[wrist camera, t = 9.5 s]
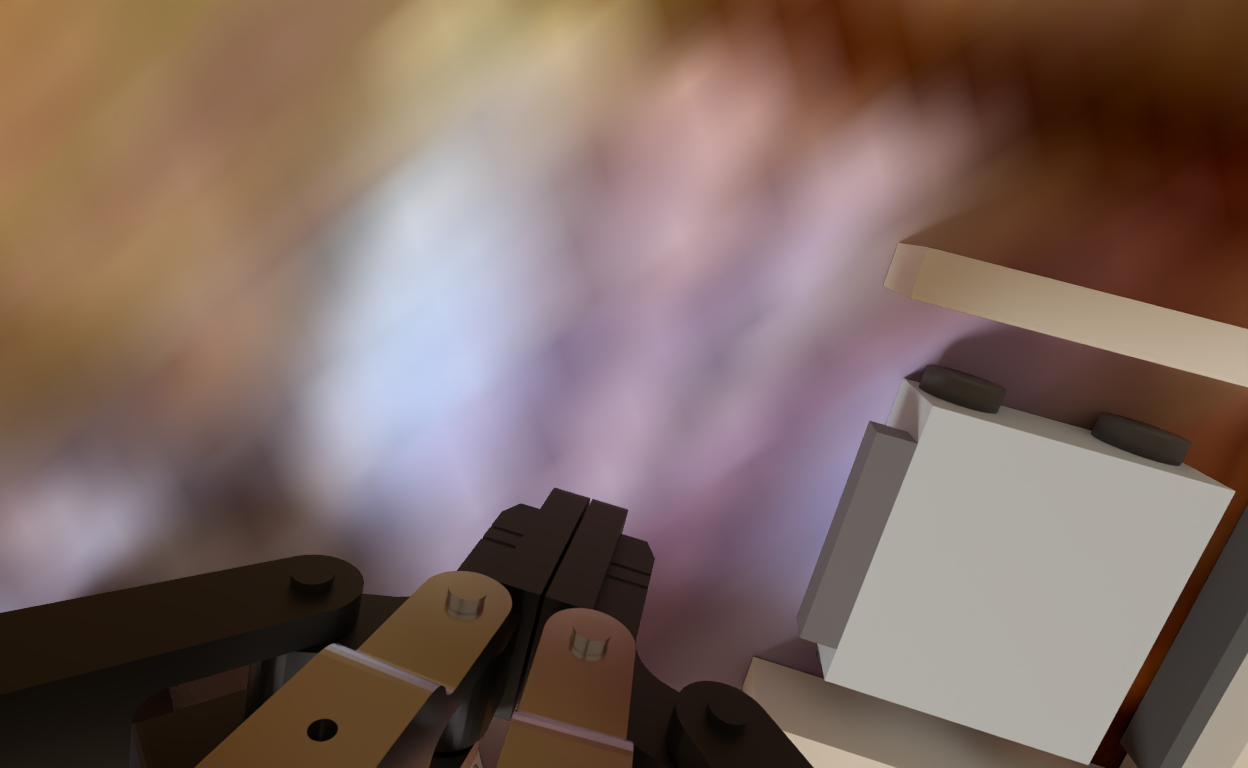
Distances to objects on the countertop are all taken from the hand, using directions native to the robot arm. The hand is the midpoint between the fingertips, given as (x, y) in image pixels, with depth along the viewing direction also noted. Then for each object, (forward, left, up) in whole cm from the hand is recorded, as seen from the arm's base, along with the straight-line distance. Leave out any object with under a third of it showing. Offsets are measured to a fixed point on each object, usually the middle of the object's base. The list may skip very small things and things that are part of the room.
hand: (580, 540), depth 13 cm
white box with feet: (+1, +10, -8) cm, 13 cm away
